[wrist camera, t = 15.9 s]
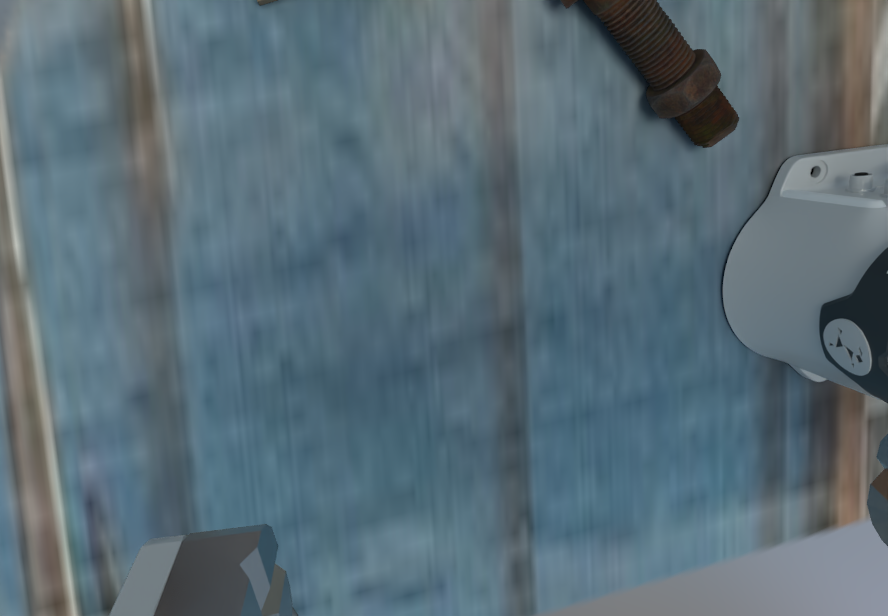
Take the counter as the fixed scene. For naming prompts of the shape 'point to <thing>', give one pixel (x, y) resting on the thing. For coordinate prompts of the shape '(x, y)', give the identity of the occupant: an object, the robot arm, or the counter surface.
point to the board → (265, 1)
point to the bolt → (669, 68)
